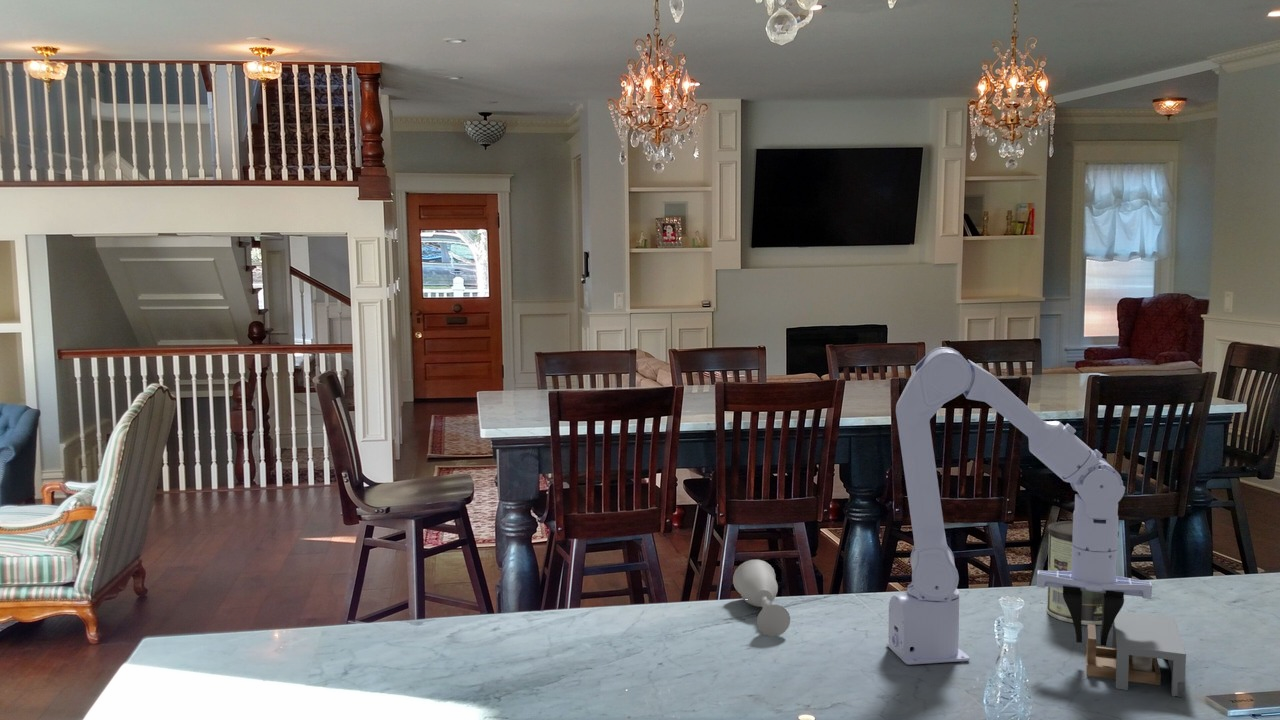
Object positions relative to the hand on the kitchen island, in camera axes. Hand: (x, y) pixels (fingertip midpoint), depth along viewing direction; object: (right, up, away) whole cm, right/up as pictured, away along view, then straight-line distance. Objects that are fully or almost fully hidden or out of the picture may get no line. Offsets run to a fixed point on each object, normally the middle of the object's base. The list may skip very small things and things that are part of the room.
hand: (1091, 641), depth 143 cm
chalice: (-43, 0, +12) cm, 44 cm away
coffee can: (+7, -2, +21) cm, 22 cm away
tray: (+4, -4, -1) cm, 5 cm away
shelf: (+6, -4, -2) cm, 8 cm away
